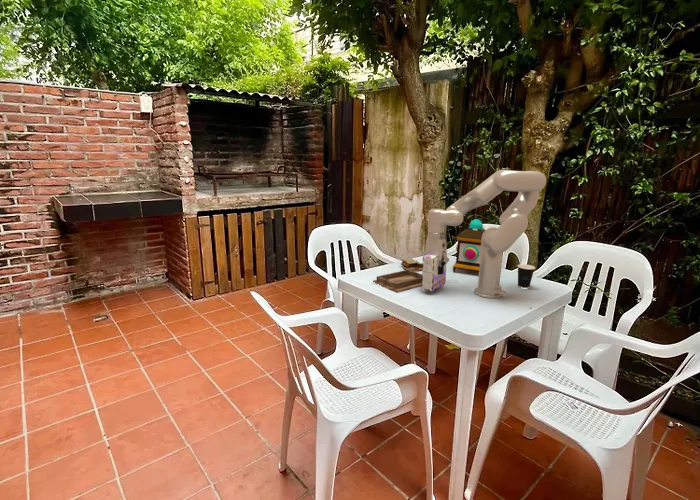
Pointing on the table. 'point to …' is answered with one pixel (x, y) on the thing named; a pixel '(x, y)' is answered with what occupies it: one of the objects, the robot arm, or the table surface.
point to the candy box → (432, 273)
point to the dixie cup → (525, 275)
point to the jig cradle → (400, 280)
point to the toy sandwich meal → (411, 265)
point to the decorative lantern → (469, 247)
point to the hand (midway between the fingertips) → (434, 271)
